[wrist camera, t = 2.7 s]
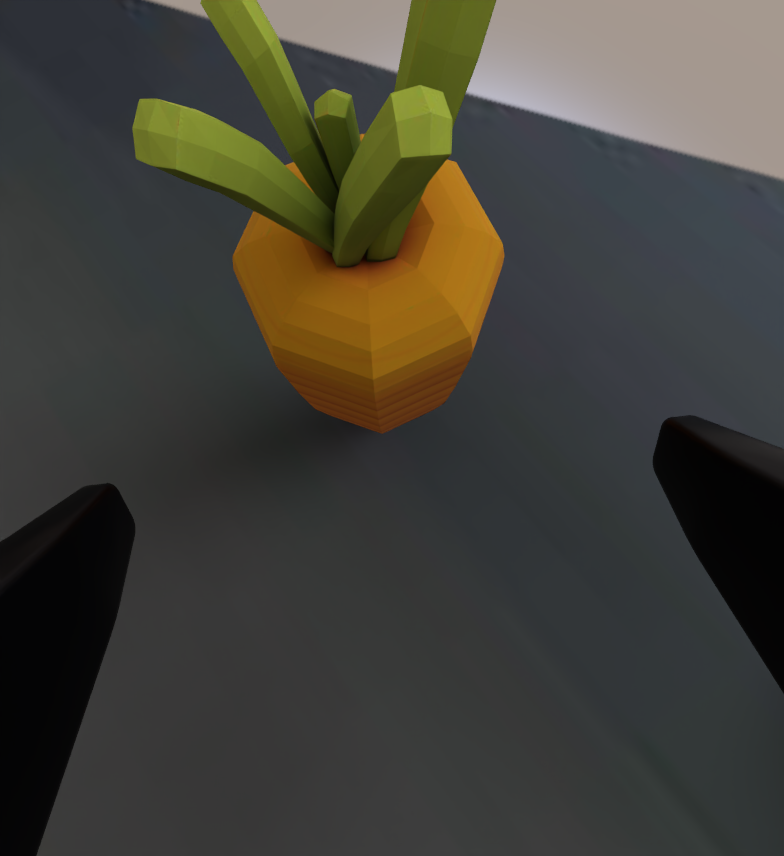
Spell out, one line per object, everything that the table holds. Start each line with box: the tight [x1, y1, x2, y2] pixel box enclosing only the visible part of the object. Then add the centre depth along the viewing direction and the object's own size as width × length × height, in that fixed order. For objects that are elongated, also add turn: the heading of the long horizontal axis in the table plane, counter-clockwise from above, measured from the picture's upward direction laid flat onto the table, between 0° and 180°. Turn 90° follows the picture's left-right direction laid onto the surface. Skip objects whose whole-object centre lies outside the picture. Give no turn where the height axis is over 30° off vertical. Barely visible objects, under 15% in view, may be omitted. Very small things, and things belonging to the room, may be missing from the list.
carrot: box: [133, 0, 504, 434], centre depth 12 cm, size 5×5×15 cm
